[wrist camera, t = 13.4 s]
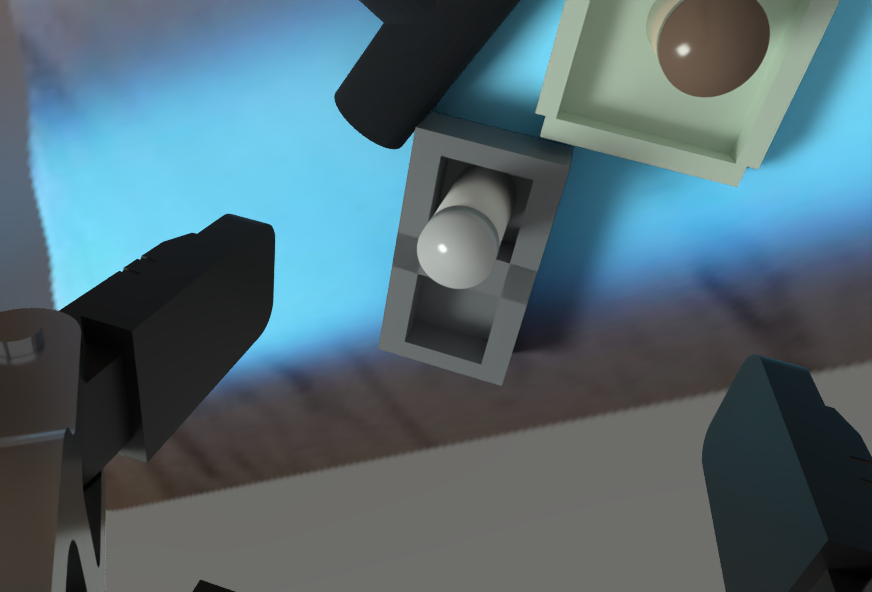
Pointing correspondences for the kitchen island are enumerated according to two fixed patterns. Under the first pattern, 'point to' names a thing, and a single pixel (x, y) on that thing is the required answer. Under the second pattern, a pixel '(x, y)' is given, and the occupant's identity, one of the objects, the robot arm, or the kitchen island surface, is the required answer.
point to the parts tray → (670, 90)
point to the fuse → (467, 228)
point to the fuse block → (514, 266)
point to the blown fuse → (708, 43)
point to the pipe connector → (414, 62)
